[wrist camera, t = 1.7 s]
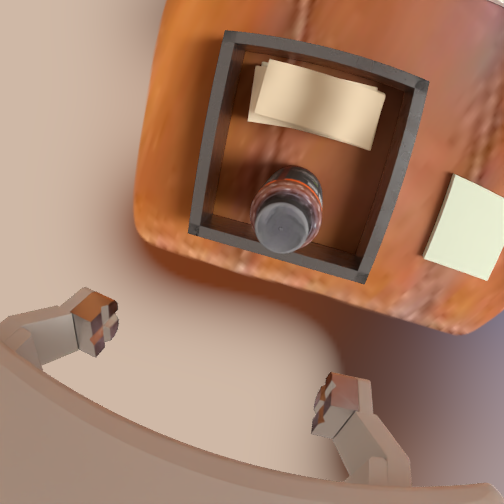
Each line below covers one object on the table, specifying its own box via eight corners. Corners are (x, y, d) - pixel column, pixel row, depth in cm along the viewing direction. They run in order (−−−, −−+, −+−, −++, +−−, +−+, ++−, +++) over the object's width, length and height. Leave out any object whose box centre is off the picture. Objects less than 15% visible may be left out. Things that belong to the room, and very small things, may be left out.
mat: (515, 204, 26) (519, 206, 26) (484, 277, 31) (487, 280, 30) (452, 173, 28) (455, 174, 27) (422, 255, 32) (423, 258, 31)
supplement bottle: (260, 210, 34) (231, 251, 24) (274, 157, 32) (249, 177, 22) (313, 227, 34) (306, 276, 24) (330, 175, 31) (332, 203, 21)
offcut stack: (381, 94, 27) (394, 89, 21) (367, 150, 29) (376, 157, 24) (265, 64, 28) (252, 53, 23) (253, 120, 31) (238, 120, 25)
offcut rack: (417, 85, 25) (429, 81, 21) (361, 266, 34) (364, 284, 31) (236, 39, 27) (225, 30, 24) (201, 221, 36) (187, 233, 33)
